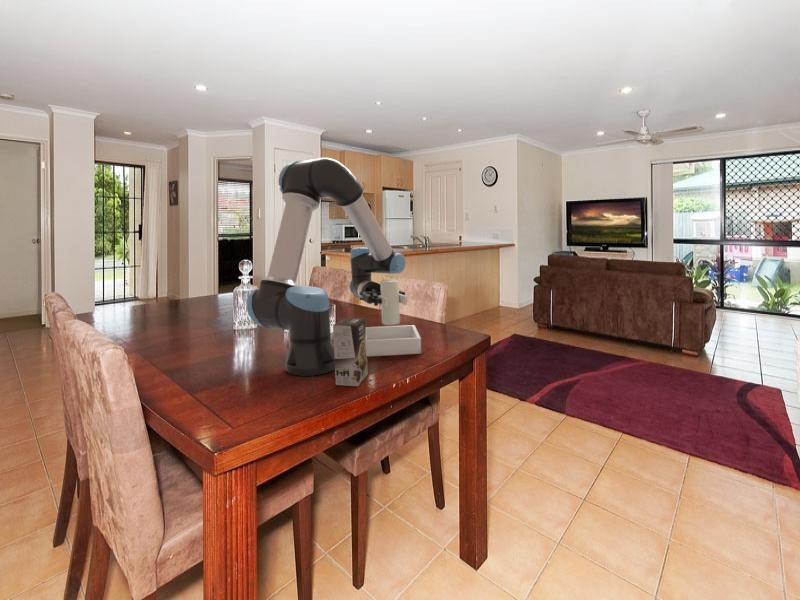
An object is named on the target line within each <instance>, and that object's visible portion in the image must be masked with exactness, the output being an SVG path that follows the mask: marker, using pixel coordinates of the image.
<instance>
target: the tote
mask: <svg viewBox="0 0 800 600" xmlns="http://www.w3.org/2000/svg"><path fill="white" fill-rule="evenodd" d="M366 349H367V357H381V356H400V355H401V356H402V355H416V354H417V355H419V354H422V337H421V335H420V333H419V332H418V329H417V327H416V325H415V324H411V325H409V324H408V325H406V324H405V325H384V326H369V327H368V326H367V327H366Z"/></svg>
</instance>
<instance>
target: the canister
mask: <svg viewBox="0 0 800 600" xmlns="http://www.w3.org/2000/svg"><path fill="white" fill-rule="evenodd" d="M379 284H380V288H381V296H383V297H385V298H388V307H385V306H382V305H380V306H381V323H382V325H384V326H396V325H398V324H400V323H401V312H400V303H399V291H400V288H399V287H400V285H399V279H385V280H384V279H383V280H380V281H379Z"/></svg>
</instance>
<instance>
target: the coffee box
mask: <svg viewBox="0 0 800 600" xmlns="http://www.w3.org/2000/svg"><path fill="white" fill-rule="evenodd" d="M332 330H333V333H332V334H333V335H332V336H333V347H334V358H335V370H334V374H335V375H334V376H335V386H346V387H347V386H349V387H358V386H360V385H361V383H362V382H363V381H364V380H365V378H366V377H367V376H368V356H367V349H366V317H344V318H342V319H339V321H337V322H336V323H334V324H333V325H332Z"/></svg>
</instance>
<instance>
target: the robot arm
mask: <svg viewBox="0 0 800 600" xmlns="http://www.w3.org/2000/svg"><path fill="white" fill-rule="evenodd" d="M278 186H279V191H280V192H281V194H282V195H281V197H282V200H283V201H284V203H285V205H284V208H283V213H282V216H281V221H280V224H279V229H278V232H277V237H276V240H275V243H274V245H275V246H274V249H273V253H272V255H271V256H272V257H271V261H270V265H269V269H268V273H267V276H265V277H263V278H262V279H261V280H260V283H259V287H258V288H256V289H254V290H253V291H252V292H251V293H250V294H249V295H248V298H247V302H246V310H247V314H248V316H249V317H250V319H251V321H252V322H253V323H254V324H256V325H258V326H260V327H264V328H267V329H276V330H277V329H278V330H282V331H283V330H285V331H288V333H289V334H288V335H289V346H288V350H287V355H286V359H285V363H284V365H285V372H286V371H287V372H288V374H289V373H290V374H289V375H292V374H293V375H292V376H297V375H299V377H311V376H318V375H324V374H327V373H330V372H333V371H335V358H334V343H333V342H332V337H331V333H332V332H331V315H330V312H331V311H330V301H329V295H328V293H327V291H326V290H325V289H323V288H321V287H317V286H309V285H308V286H307V285H298V284H297V279H298V276H299V271H300V265H301V263H302V262H301V261H302V257H303V254H304V249H305V245H306V240H307V238H308V233H309V228H310V224H311V219H312V215H313V212H314V211H316V210H318V209H319V207H320V203H321V199H322V198H330V199H332V200H334V202H335V204H336V206H338V207H340V208H342V210H343V211H344V213H345V214H346V216H347V217H348V219H349V220H350V222H351V224H352V225H353V227H354V228H355V230H356V232H357V233H358V235H359V237H360V238H361V240H362V241H363V243H364V244H365V246H366V247H365V246H364V247H363V246H360V247H359V246H357V247H352V248H351V249H350V259H349V260H350V270H351V271H350V273H351V280H350V282H349V285H348V289H349V291H350V293H351V294H352V295H353V296H354V297H356V298H359V300H360V301H363V302H365V303H367V304H369V305H371V304H373V305H374V306H375V307H377V306H379V305H380V306H381V305H382V306H385V307H388V298H385V297H383V296H381V288H380V282H379V283H378V282H377V281H372V273H373V274H390V275H392V274H396V275H397V274H401V273H403V271H404V269H405V267H406V258H405V255H404V254H402V253H401V252H395V251H394V249H393V247H392V245H391V244H390V243H389V241H388V239H387V237H386V235H385V233H384V232H383V230H382V228H381V226H380V224H379V222H378V220H377V218H376V217H375V214H374V213H373V212H372V209H371V207H370V206H369V204H368V203H367V201H366V199H365V197H364V195H363V194H364V189H363V186H362V185H361V183H360V181H359V180H358V178H357V177H356V176H355V174H354V173H353V172H352V171H351V170H350V169H349V168H347V166H345V165H344V164H343V163H342V162H340V161H339V160H336V159H333V158H331V157H319V158H314V159H308V160H296V161H293V162H290V163H288V164H286V165H284V166H283V168H282V169H281V171H280V173H279V175H278ZM399 304H403V305H404V306H406V305H408V295H406V292H405V291H401V290H399Z"/></svg>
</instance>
